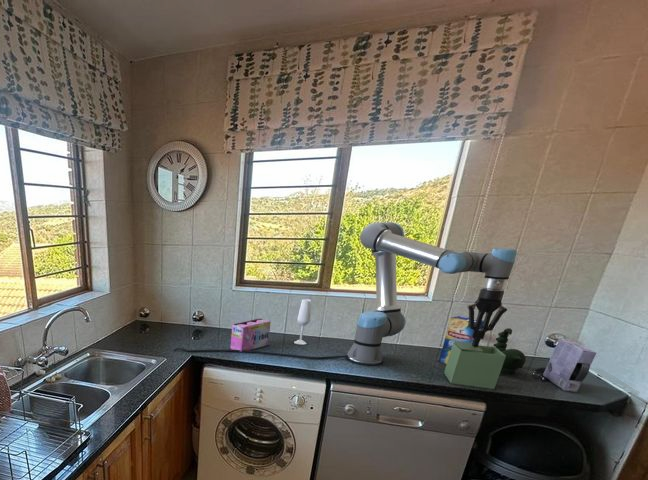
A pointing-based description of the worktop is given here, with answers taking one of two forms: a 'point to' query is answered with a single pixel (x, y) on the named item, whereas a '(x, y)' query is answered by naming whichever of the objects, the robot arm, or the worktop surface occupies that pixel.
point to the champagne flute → (304, 317)
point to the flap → (467, 346)
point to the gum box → (250, 334)
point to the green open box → (474, 366)
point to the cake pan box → (569, 365)
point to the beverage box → (456, 335)
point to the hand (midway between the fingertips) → (474, 345)
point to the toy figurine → (509, 353)
